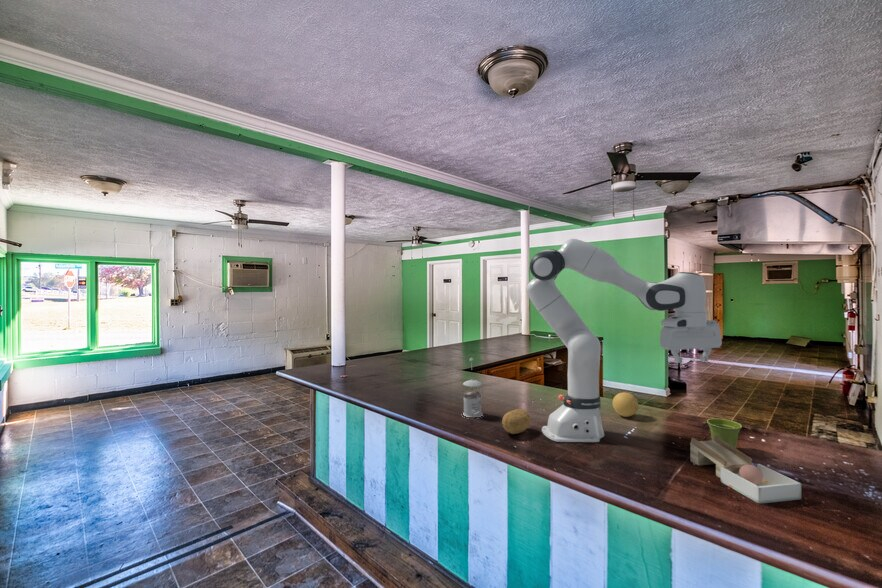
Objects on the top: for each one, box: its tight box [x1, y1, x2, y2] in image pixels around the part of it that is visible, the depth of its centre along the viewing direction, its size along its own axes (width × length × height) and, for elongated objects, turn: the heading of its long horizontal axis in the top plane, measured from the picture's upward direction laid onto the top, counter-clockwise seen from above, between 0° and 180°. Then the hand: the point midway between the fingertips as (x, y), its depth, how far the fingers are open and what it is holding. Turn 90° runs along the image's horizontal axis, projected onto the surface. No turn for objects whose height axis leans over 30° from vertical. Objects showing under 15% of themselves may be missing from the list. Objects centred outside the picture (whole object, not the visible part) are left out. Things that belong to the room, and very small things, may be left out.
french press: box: [462, 357, 484, 418], centre depth 169 cm, size 10×12×25 cm
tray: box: [720, 463, 802, 505], centre depth 103 cm, size 12×11×4 cm
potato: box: [501, 408, 531, 435], centre depth 147 cm, size 10×14×8 cm
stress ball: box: [612, 391, 640, 418], centre depth 163 cm, size 10×10×10 cm
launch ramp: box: [689, 436, 753, 479], centre depth 115 cm, size 9×12×7 cm
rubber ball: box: [739, 464, 763, 485], centre depth 105 cm, size 5×5×5 cm
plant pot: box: [706, 418, 743, 449], centre depth 128 cm, size 9×9×9 cm
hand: (691, 362), depth 129 cm, fingers open, 8 cm apart
